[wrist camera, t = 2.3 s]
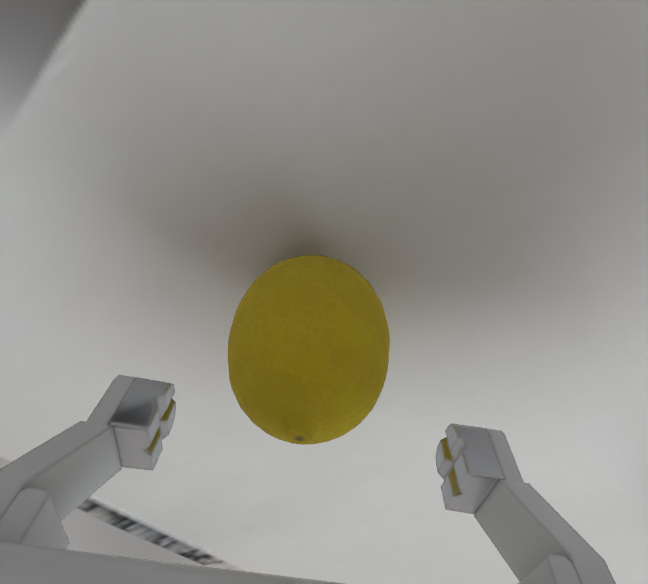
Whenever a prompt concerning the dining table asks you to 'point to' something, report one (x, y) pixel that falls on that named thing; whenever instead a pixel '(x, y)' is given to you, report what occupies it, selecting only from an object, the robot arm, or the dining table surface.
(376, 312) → the lemon
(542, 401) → the dining table surface
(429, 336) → the dining table surface
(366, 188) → the dining table surface
